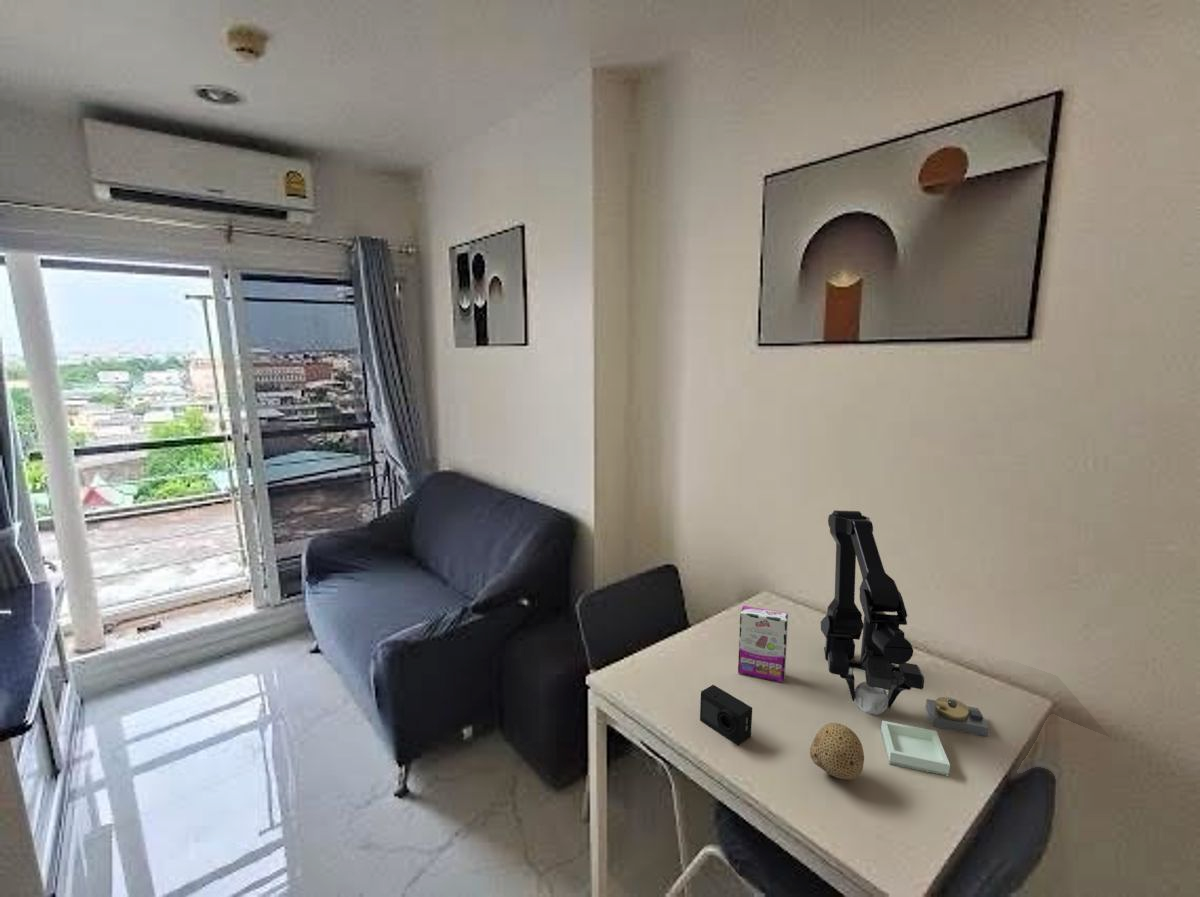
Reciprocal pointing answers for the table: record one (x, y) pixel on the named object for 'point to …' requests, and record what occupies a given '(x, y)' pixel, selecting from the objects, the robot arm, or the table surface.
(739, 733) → the digital camera
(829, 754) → the natural sponge
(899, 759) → the tray
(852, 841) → the table surface
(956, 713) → the call bell
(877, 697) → the die
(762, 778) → the table surface
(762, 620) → the candy bar box
